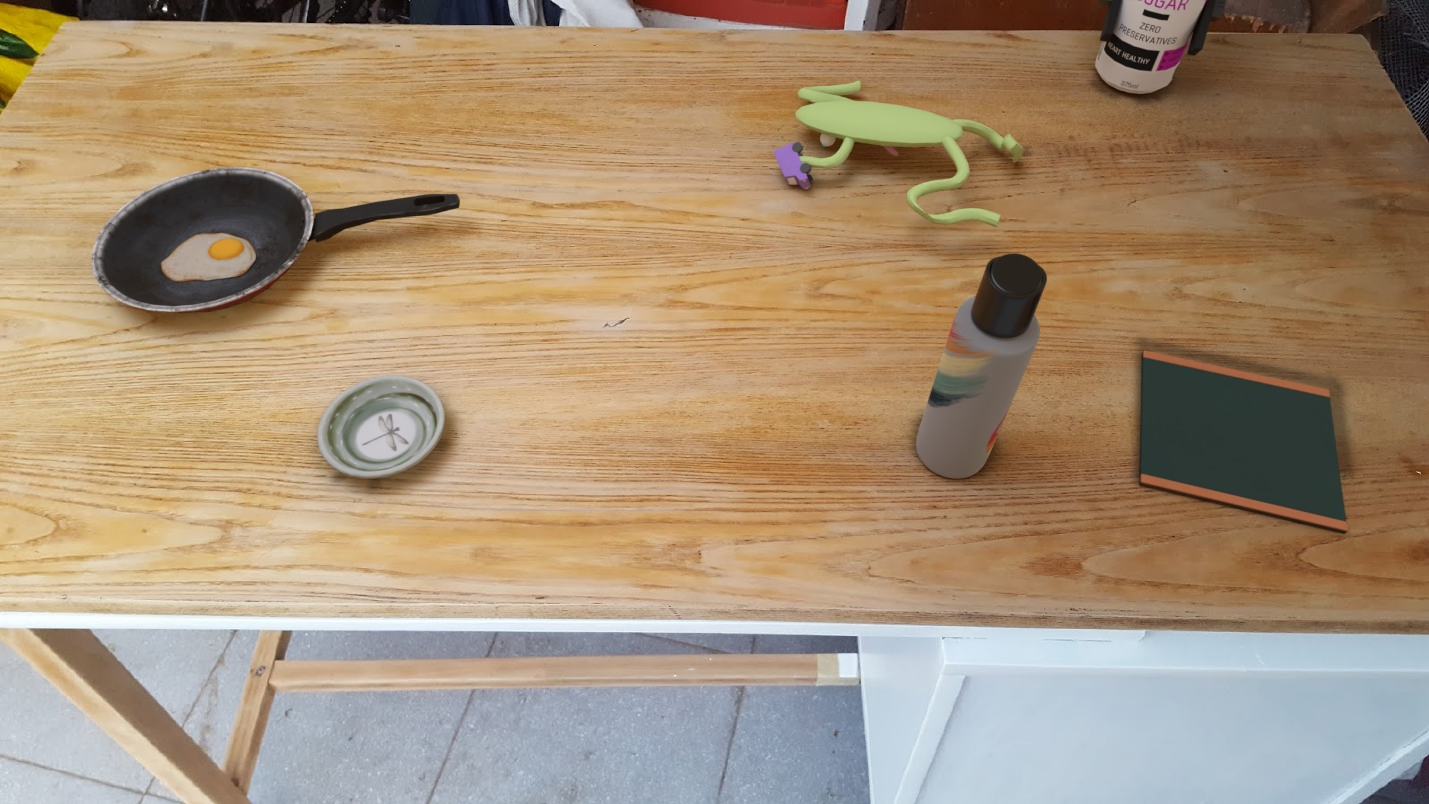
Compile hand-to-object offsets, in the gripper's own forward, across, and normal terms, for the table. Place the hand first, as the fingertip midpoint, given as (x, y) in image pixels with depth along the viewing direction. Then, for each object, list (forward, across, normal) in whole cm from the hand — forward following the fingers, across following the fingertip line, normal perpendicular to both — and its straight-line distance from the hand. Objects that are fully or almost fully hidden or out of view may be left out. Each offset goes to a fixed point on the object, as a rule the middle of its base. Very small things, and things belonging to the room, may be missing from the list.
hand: (1149, 44), depth 98 cm
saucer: (+50, +55, +40) cm, 84 cm away
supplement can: (+2, 0, -6) cm, 7 cm away
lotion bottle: (+42, +12, +31) cm, 53 cm away
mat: (+36, -10, +26) cm, 45 cm away
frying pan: (+38, +74, +28) cm, 88 cm away
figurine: (+18, +22, +8) cm, 30 cm away
